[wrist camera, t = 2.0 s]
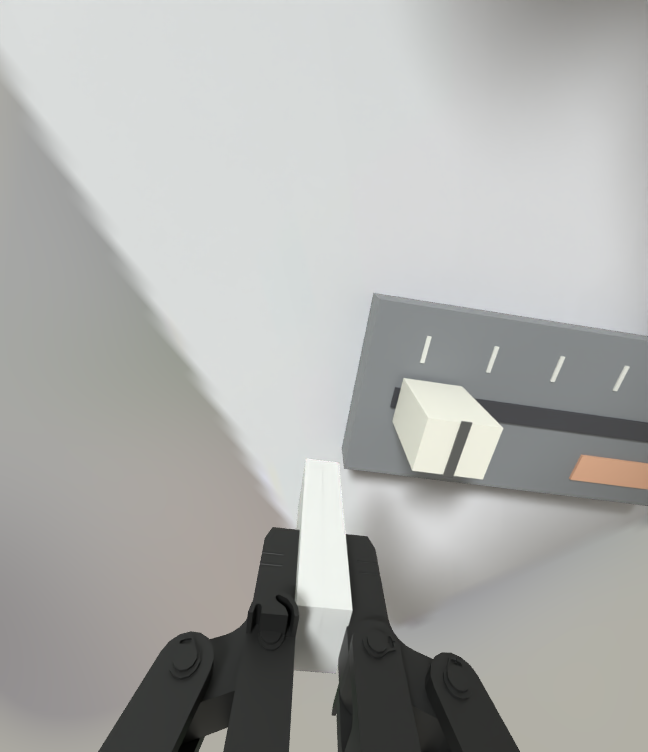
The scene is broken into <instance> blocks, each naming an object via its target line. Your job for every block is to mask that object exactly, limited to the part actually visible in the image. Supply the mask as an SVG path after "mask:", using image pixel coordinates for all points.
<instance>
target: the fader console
mask: <svg viewBox="0 0 648 752" xmlns="http://www.w3.org/2000/svg"><path fill="white" fill-rule="evenodd" d="M403 378H407V379H414V380H421V381H428V382H435V383H442V384H449V385H457V386H462V387H463V388H464V389H465V390H466V391H467V392H468V393H469V394H470V395H471V396H472V397H473V398H474V399H475V400H476V401H477V402H478V403H479V404H480V405H481V406H482V407H483V408H484V409H485V410H486V411H487V412H488V413H489V414H490V415H491V416H492V417H493V418H494V419H495V420H496V421H497V422H498V423H499V424H500V425H501V426H502V427H503V430H502V433H501V435H500V438H499V440H498V443H497V445H496V448H495V450H494V453H493V455H492V458H491V460H490V463H489V465H488V468H487V470H486V473H485V475H484V478H483V479H475V478H467V477H459V476H453V478H448V477H443V474H435V473H427V472H419V471H412V469H411V466H410V464H409V461H408V459H407V456H406V454H405V451H404V449H403V446H402V444H401V441H400V439H399V436H398V434H397V431H396V429H395V427H394V424H393V422H392V421H393V417H394V413H395V409H396V405H397V401H398V398H399V394H400V390H401V386H402V382H403ZM342 453H343V463H344V469H353V470H361V471H369V472H377V473H385V474H393V475H401V476H409V477H418V478H426V479H434V480H442V481H450V482H458V483H466V484H474V485H483V486H491V487H499V488H507V489H515V490H523V491H531V492H540V493H548V494H556V495H564V496H572V497H580V498H588V499H596V500H605V501H613V502H621V503H629V504H637V505H645V506H648V336H642V335H636V334H630V333H623V332H617V331H611V330H604V329H598V328H592V327H585V326H579V325H573V324H566V323H560V322H554V321H547V320H541V319H535V318H528V317H522V316H516V315H509V314H503V313H497V312H490V311H484V310H477V309H471V308H465V307H458V306H452V305H446V304H439V303H433V302H427V301H420V300H414V299H408V298H401V297H395V296H389V295H382V294H376V293H373V298H372V303H371V308H370V313H369V318H368V323H367V327H366V332H365V337H364V342H363V347H362V352H361V357H360V362H359V367H358V372H357V377H356V381H355V386H354V391H353V396H352V401H351V406H350V411H349V416H348V421H347V426H346V431H345V435H344V440H343V445H342Z"/></svg>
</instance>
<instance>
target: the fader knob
mask: <svg viewBox="0 0 648 752" xmlns="http://www.w3.org/2000/svg"><path fill="white" fill-rule="evenodd" d="M392 422H393V424H394V427H395V429H396V431H397V434H398V436H399V439H400V441H401V444H402V446H403V449H404V451H405V454H406V456H407V459H408V461H409V464H410V466H411V469H412V471H419V472H427V473H435V474H443V477H448V478H453V476H459V477H467V478H475V479H483V478H484V475H485V473H486V470H487V468H488V465H489V463H490V460H491V458H492V455H493V453H494V450H495V448H496V445H497V443H498V440H499V438H500V435H501V433H502V430H503V427H502V426H501V425H500V424H499V423H498V422H497V421H496V420H495V419H494V418H493V417H492V416H491V415H490V414H489V413H488V412H487V411H486V410H485V409H484V408H483V407H482V406H481V405H480V404H479V403H478V402H477V401H476V400H475V399H474V398H473V397H472V396H471V395H470V394H469V393H468V392H467V391H466V390H465V389H464V388H463V387H462V386H457V385H449V384H442V383H435V382H428V381H421V380H414V379H407V378H403V382H402V386H401V390H400V394H399V398H398V401H397V405H396V409H395V413H394V417H393V421H392Z"/></svg>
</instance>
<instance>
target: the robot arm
mask: <svg viewBox="0 0 648 752" xmlns="http://www.w3.org/2000/svg"><path fill="white" fill-rule="evenodd" d="M337 666H338V670H339V685H338V689H337V692H336V696H335V700H334V703H333V710H332V715H334V716H335V715H336V712H337V739H338V752H520V751H519V749H518V747H517V745H516V744H515V742H514V740H513V738H512V736H511V735H510V733H509V731H508V729H507V727H506V726H505V724H504V722H503V720H502V719H501V717H500V715H499V713H498V711H497V709H496V708H495V706H494V704H493V702H492V700H491V699H490V697H489V695H488V693H487V691H486V690H485V688H484V686H483V684H482V682H481V681H480V679H479V677H478V675H477V674H476V673H475V671H474V670H473V669H472V667H471V666H470V665H469V664H468V663H467V662H465V660H463V659H462V658H461V657H459V656H457V655H455V654H452V653H440V654H438V655H437V656H435V657H434V659H431V658H429V657H427V656H425V655H423V654H421V653H418V652H416V651H414V650H412V649H411V648H409V647H407V646H406V645H405V644H403V643H402V642H401V641H400V640H399V639H398V638H397V636H396V635H395V634H394V632H393V630H392V628H391V626H390V623H389V620H388V615H387V610H386V605H385V599H384V594H383V589H382V583H381V578H380V572H379V567H378V562H377V556H376V551H375V548H374V546H373V545H372V543H371V541H370V540H369V538H368V537H367V536H358V535H348V534H345V523H344V512H343V501H342V490H341V479H340V468H339V462H331V461H323V460H315V459H307V458H306V461H305V467H304V473H303V480H302V486H301V492H300V499H299V505H298V515H297V528H296V530H294V529H285V528H275V527H273V528H272V529H271V530H270V532H269V533H268V534H267V536H266V537H265V540H264V545H263V551H262V556H261V561H260V567H259V572H258V577H257V583H256V588H255V593H254V598H253V602H252V604H251V606H250V609H249V611H248V617H247V619H246V621H245V622H244V623H243V624H242V625H241V626H240V628H238V629H236V630H235V631H233V632H231V633H229V634H226V635H223V636H220V637H216V638H213V639H209V638H207V637H206V636H204V635H203V634H201V633H198V632H187V633H183V634H180V635H178V636H177V637H175V638H174V639H172V640H171V641H169V642H168V644H167V645H166V646H165V647H164V648H163V650H162V651H161V652H160V654H159V655H158V657H157V659H156V660H155V662H154V663H153V665H152V667H151V668H150V670H149V671H148V673H147V674H146V676H145V678H144V679H143V681H142V683H141V684H140V686H139V687H138V689H137V691H136V692H135V694H134V696H133V697H132V699H131V700H130V702H129V703H128V705H127V707H126V708H125V710H124V711H123V713H122V715H121V716H120V718H119V720H118V721H117V723H116V724H115V726H114V728H113V729H112V731H111V732H110V734H109V736H108V737H107V739H106V740H105V742H104V743H103V745H102V747H101V748H100V750H99V751H98V752H199V749H200V747H201V744H202V742H203V740H204V737H205V736H206V735H209V734H211V733H214V732H217V731H219V730H222V729H225V728H227V727H228V730H227V736H226V741H225V746H224V751H223V752H289V740H290V723H291V706H292V688H293V671H294V670H297V671H310V672H322V673H336V670H337Z"/></svg>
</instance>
